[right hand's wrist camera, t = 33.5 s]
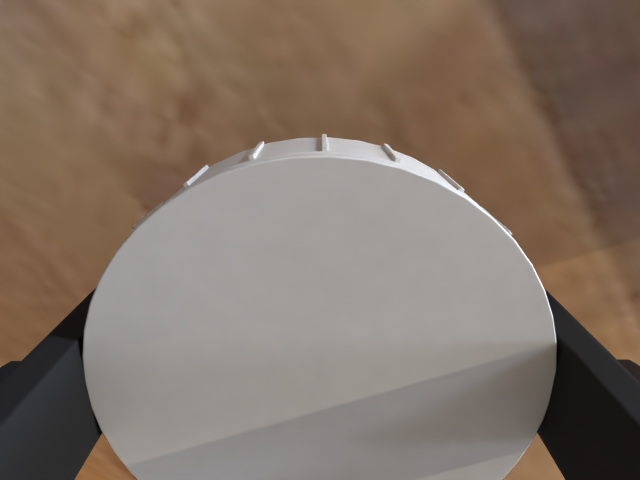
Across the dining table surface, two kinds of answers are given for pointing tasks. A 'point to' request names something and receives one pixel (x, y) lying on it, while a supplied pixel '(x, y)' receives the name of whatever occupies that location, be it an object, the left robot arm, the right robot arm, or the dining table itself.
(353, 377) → the lid
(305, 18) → the dining table surface
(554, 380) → the right robot arm
